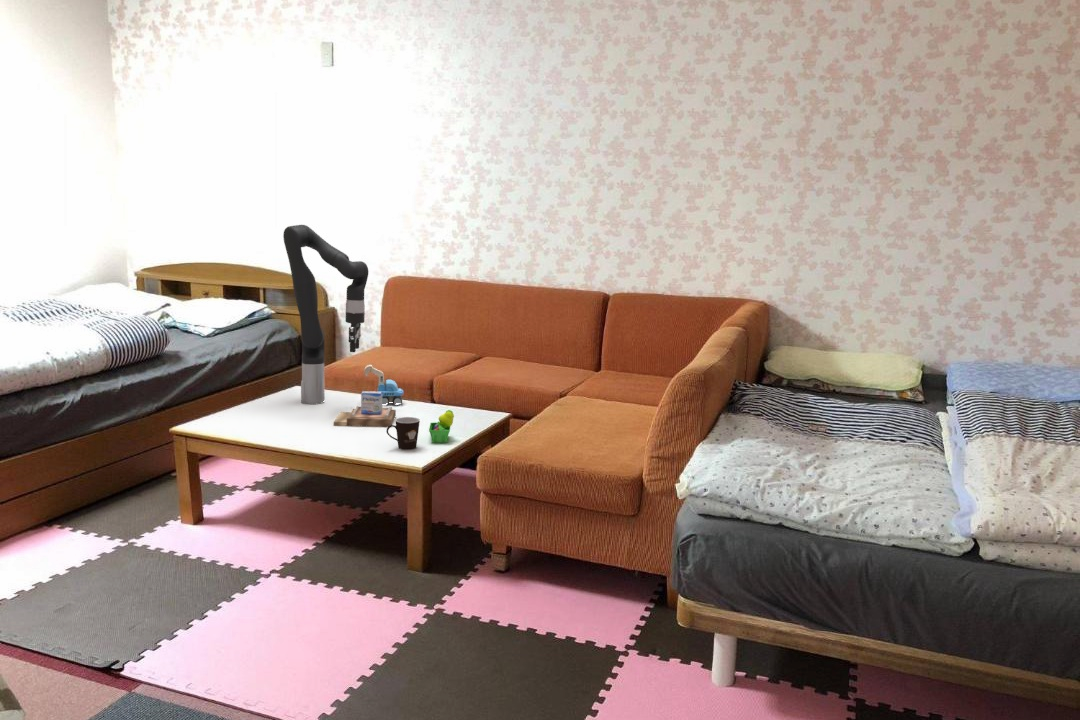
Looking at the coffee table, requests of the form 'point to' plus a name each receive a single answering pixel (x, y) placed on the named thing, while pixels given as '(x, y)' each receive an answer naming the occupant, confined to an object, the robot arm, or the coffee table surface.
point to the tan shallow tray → (366, 418)
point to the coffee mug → (406, 432)
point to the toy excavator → (386, 387)
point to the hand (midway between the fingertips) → (354, 350)
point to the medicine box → (371, 402)
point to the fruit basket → (441, 428)
